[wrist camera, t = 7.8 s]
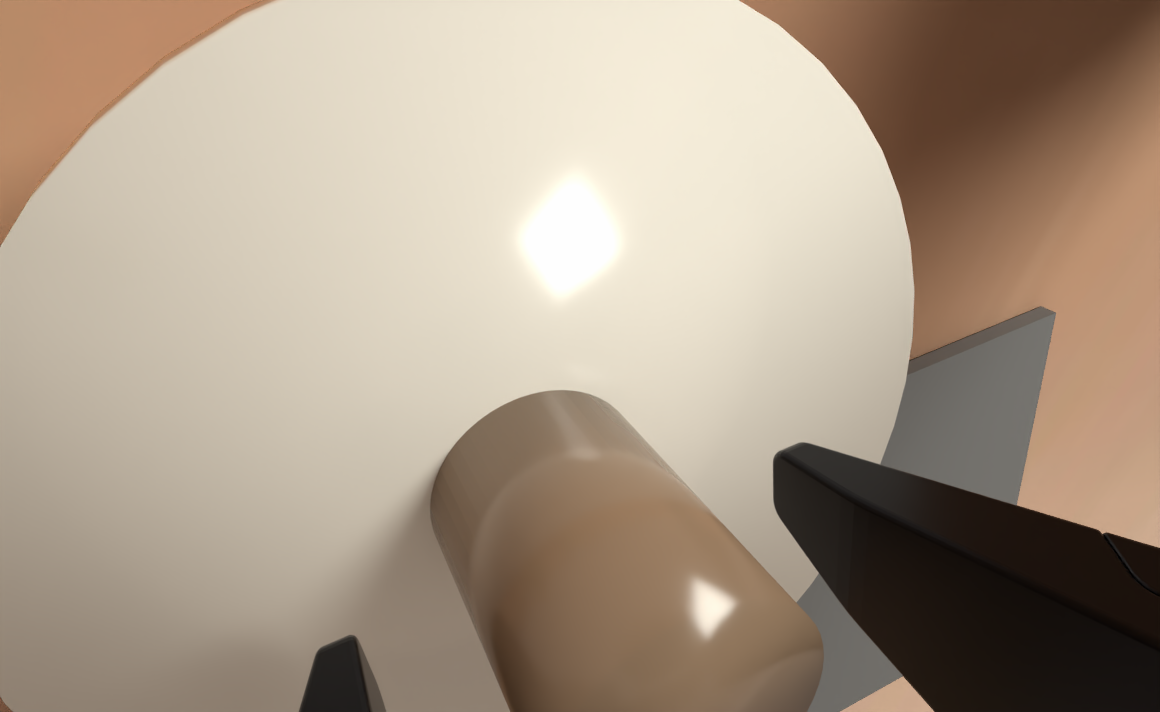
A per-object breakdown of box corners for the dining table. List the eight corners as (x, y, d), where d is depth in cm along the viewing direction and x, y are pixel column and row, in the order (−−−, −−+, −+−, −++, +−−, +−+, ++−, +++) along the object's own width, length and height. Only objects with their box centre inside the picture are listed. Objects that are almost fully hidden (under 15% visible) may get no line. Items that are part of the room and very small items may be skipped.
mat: (1041, 306, 24) (1055, 313, 23) (981, 617, 31) (991, 626, 31) (633, 475, 20) (642, 486, 19) (673, 787, 27) (681, 800, 26)
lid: (895, -135, 10) (1382, -187, 6) (851, 579, 17) (1065, 783, 13) (-398, 98, 6) (-1481, 392, 2) (219, 898, 13) (237, 1332, 9)
